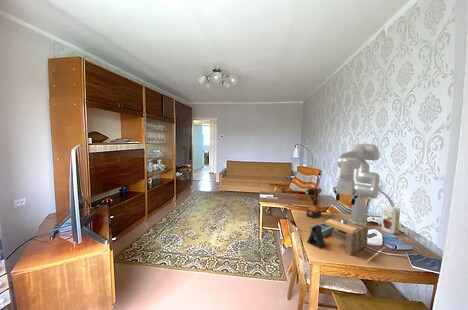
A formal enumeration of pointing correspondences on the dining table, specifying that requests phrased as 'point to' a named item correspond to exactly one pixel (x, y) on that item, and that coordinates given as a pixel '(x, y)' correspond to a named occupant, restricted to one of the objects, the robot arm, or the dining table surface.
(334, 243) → the dining table surface
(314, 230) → the black a-frame stand
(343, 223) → the drill bit
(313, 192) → the power drill
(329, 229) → the rack
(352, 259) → the dining table surface
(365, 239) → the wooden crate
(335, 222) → the bar
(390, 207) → the juice carton
